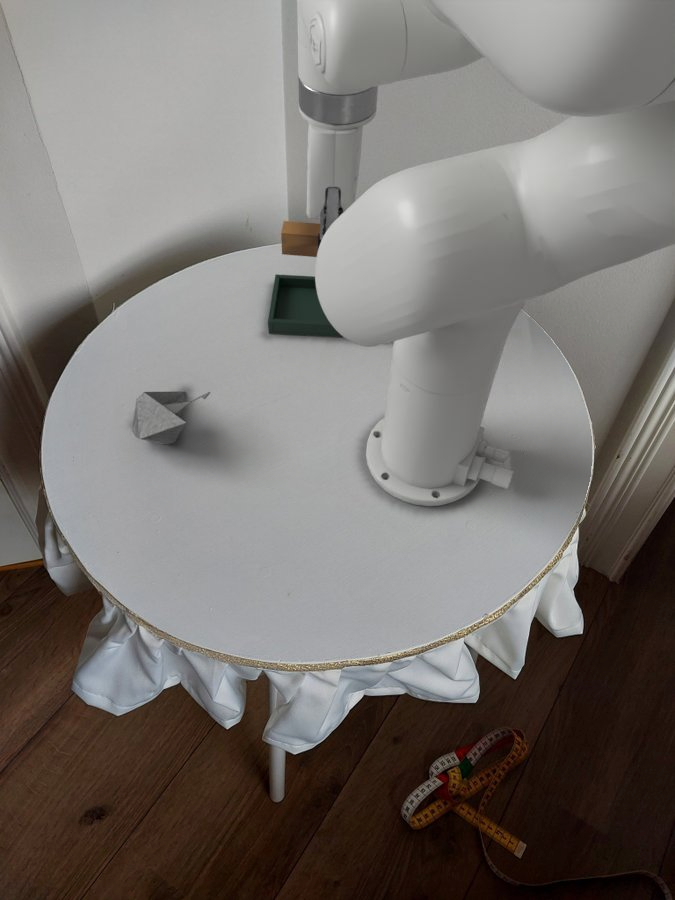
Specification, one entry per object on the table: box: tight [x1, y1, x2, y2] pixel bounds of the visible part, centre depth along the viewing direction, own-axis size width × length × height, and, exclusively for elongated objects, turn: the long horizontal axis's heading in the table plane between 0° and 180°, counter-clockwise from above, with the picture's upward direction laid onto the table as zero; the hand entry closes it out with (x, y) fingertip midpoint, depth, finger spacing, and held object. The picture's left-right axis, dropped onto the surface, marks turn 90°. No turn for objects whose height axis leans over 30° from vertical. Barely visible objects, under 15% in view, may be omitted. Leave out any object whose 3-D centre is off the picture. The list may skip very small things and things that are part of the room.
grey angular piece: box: [131, 391, 211, 445], centre depth 77 cm, size 12×6×9 cm
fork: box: [280, 220, 326, 258], centre depth 83 cm, size 14×4×3 cm, turn 85°
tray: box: [267, 274, 345, 339], centre depth 90 cm, size 17×9×2 cm, turn 87°
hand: (333, 249), depth 83 cm, fingers closed on fork, 4 cm apart
